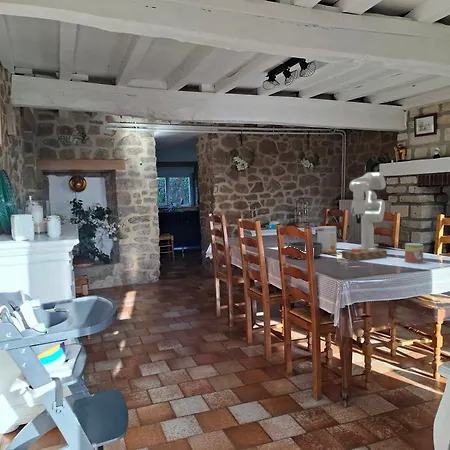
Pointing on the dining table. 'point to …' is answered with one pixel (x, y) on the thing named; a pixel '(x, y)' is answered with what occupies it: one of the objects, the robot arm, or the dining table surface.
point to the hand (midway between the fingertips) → (358, 223)
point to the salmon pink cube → (356, 250)
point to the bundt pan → (301, 246)
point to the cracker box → (327, 238)
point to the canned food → (414, 253)
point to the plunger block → (364, 254)
